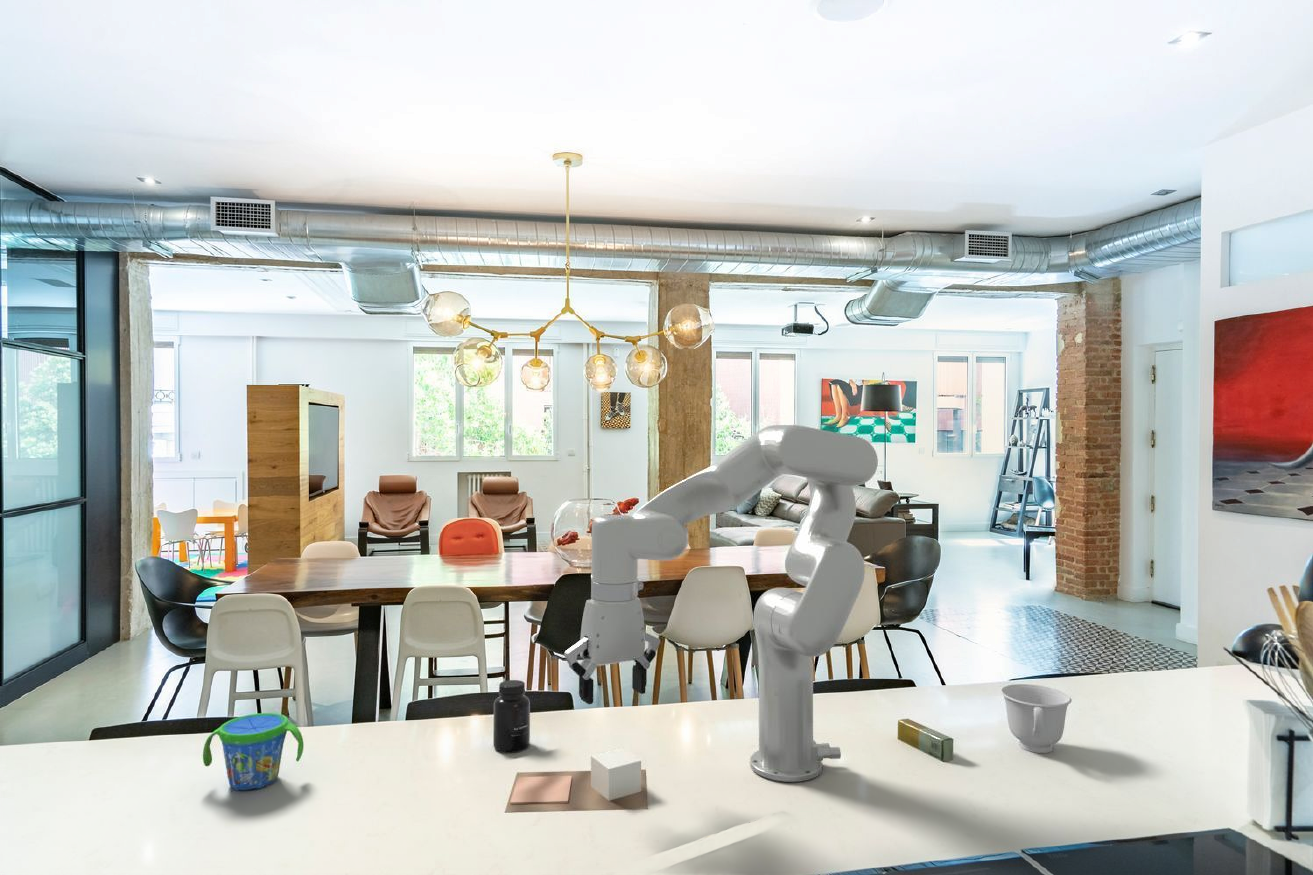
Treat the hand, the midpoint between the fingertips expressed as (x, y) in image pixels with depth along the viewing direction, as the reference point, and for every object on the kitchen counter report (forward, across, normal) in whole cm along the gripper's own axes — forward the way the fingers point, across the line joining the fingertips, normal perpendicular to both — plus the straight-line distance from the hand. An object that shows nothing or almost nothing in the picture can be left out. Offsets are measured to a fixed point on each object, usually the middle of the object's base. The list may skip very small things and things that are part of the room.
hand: (613, 696), depth 128 cm
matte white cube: (+15, -1, 0) cm, 15 cm away
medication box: (+16, -59, +14) cm, 63 cm away
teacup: (+16, -76, +26) cm, 82 cm away
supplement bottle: (+17, +6, -29) cm, 34 cm away
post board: (+17, +5, -3) cm, 18 cm away
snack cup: (+18, +49, -39) cm, 65 cm away
